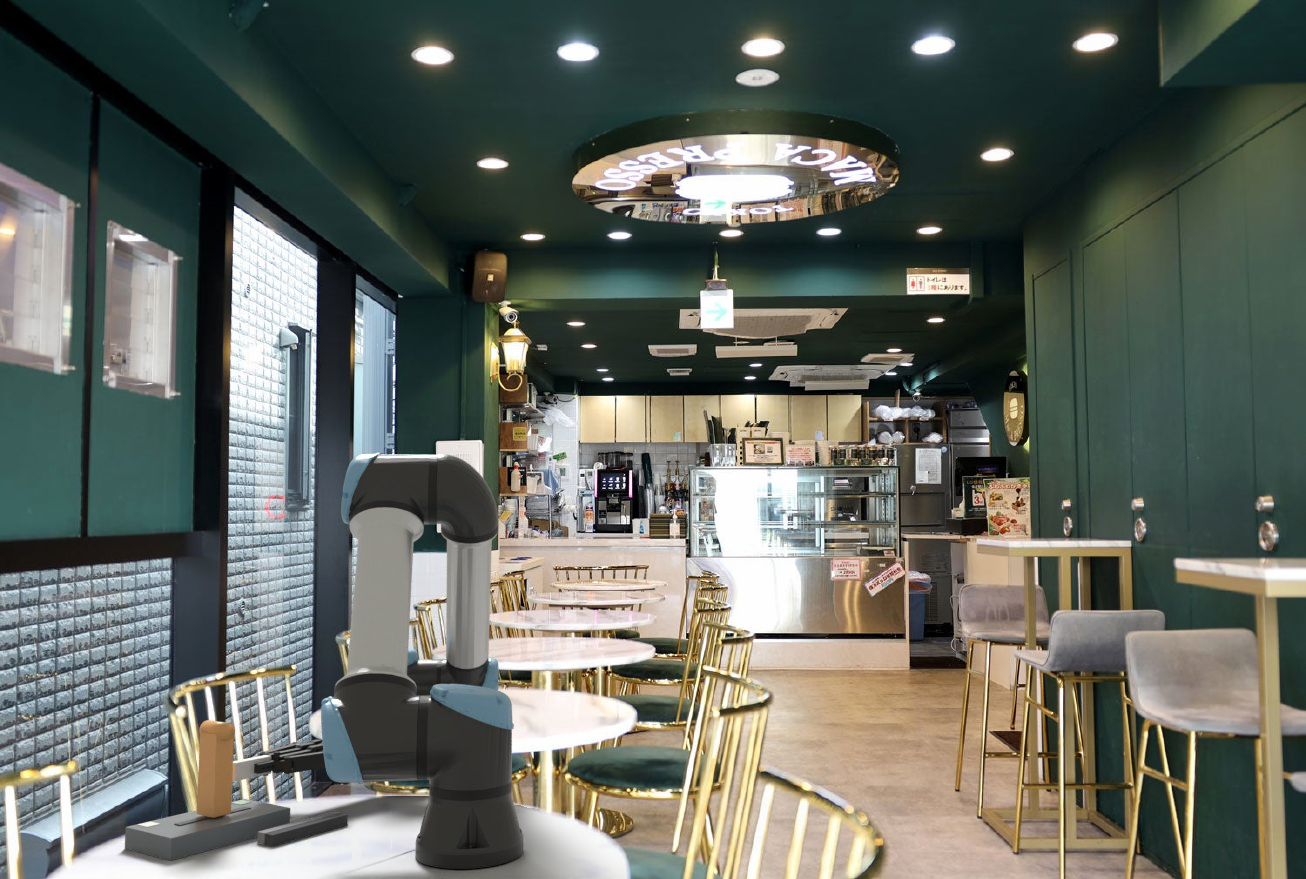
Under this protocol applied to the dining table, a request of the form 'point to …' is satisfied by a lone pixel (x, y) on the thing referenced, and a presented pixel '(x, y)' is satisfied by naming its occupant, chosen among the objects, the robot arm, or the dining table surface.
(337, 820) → the grooved grey bar
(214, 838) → the base
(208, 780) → the handle
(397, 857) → the dining table surface
